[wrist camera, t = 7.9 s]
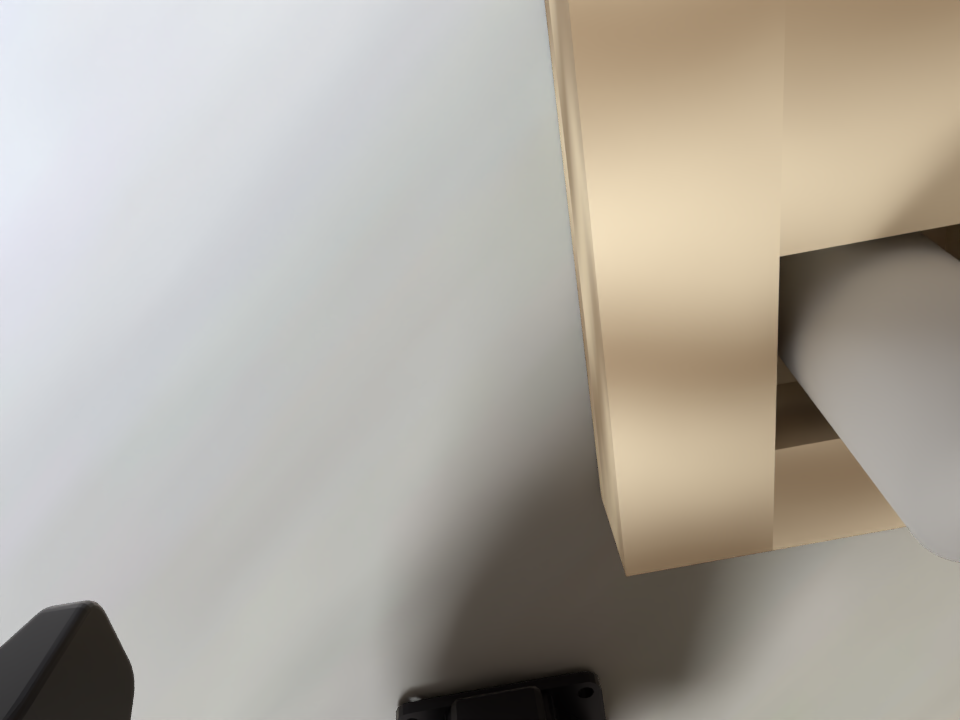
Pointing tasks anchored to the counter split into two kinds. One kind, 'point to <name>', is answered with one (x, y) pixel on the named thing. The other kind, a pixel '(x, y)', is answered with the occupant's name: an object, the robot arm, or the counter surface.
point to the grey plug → (884, 368)
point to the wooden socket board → (737, 243)
